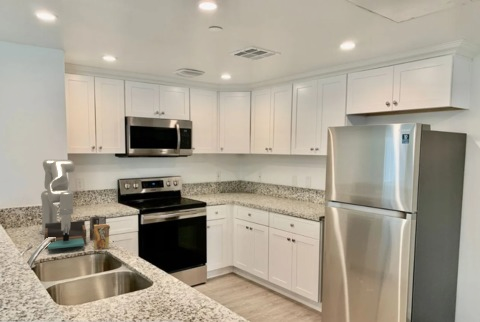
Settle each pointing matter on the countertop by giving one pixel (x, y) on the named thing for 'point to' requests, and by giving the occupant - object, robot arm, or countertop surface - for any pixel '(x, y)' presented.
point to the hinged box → (54, 230)
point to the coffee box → (95, 221)
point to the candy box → (101, 236)
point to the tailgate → (66, 243)
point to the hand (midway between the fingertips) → (66, 240)
